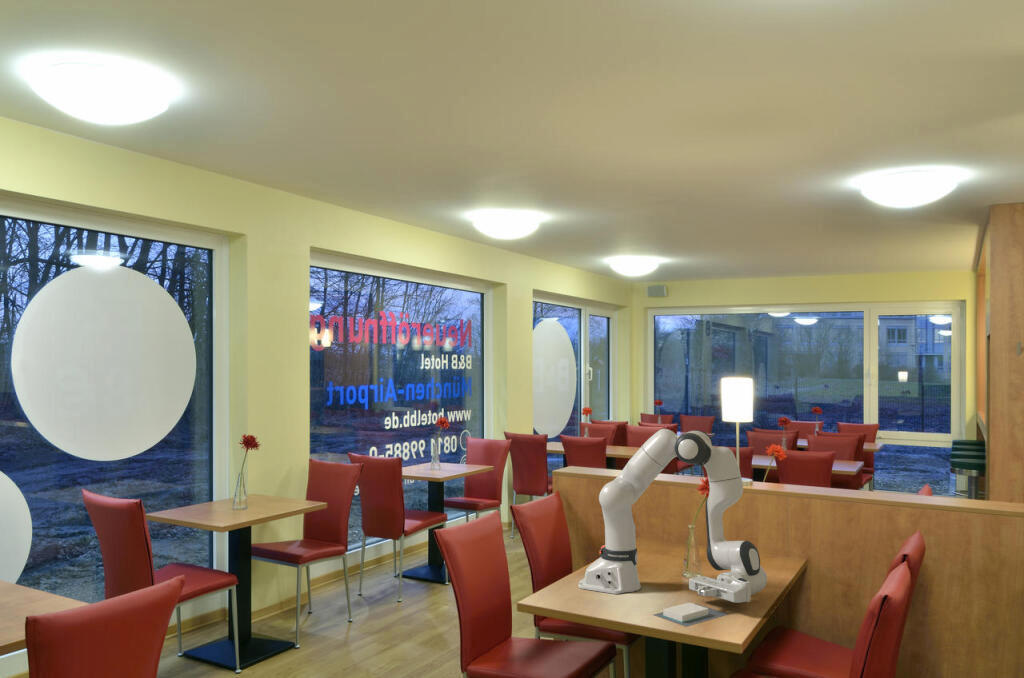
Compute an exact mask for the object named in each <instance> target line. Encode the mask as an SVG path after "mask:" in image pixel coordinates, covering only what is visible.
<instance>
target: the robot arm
mask: <svg viewBox="0 0 1024 678" xmlns="http://www.w3.org/2000/svg"><path fill="white" fill-rule="evenodd" d="M676 457H677V458H678V459H679V460H680V461H681V462H682V463H685V464H688V465H694V466H703V467H704V468H705V471H706V474H707V479H708V486H709V493H708V496H707V497H706V500H705V505H704V506H705V508H704V509H705V523H706V524H705V525H706V534H707V535H706V538H707V541H706V542H707V546H706V558H707V561H708V563H709V565H710V566H711V567H712V568H713V569H714V570H716V571H725V572H721V573H720V574H718V575H717V577H716V578H714V577H713V578H712V577H709V576H705V575H704V576H696V577H695V576H694V577H690V578H689V579H688V588H689V590H690V591H694V592H697V595H698V596H702V597H704V598H705V597H713V598H716V599H717V598H718V599H721V600H724V601H728V602H730V603H735V604H740V603H748V602H751V599H752V595H754V594H758V593H759V592H761V591H762V590H764V589H765V587H766V585H767V583H768V575H767V572H766V571H765V569H764V568H763V567H762V565H761V557H760V553H759V551H758V548H757V547H756V546H755V544H753V543H752V541H750V540H726V538H725V535H724V521H723V518H724V517H723V516H724V513H725V511H726V510H727V509H728V508H730V507H731V506H733V505H735V504H736V503H738V501H739V500H740V499H741V498H742V497H743V494H744V485H743V479H742V474H741V470H740V466H739V463H738V460H737V458H736V456H735V453H734V452H733V451H732V449H731V448H729V447H726V446H714V444H713V441H712V438H711V436H710V435H709V434H708V433H707V432H705V431H702V430H689V431H687V432H685V433H683V434H680V435H678V434H676V433H675V432H674V431H673V430H671V429H668V428H662V429H659V430H658V431H656V432H655V433H654V434H653V435H651V436H650V437H648V439H647V440H646V441H645V442H644V443H643V444H642V445H641V446H640V447H639V449H637V451H636V452H635V453H634V454H633V455H632V456H631V458H630V459H629V460H628V462H627V463H626V464H625V466H624V467H623V469H621V471H620V473H619V474H618V475H617V476H616V478H614V479H613V480H611V481H609V482H608V483H606V484H604V486H603V487H602V488H601V490H600V492H599V495H598V501H599V504H600V506H601V511H602V517H603V522H604V523H603V524H604V540H605V542H604V543H605V544H604V545H602V546H601V547H600V549H599V558H597V559H595V560H594V561H593V562H591V564H590V565H588V567H587V568H586V570H585V573H584V577H583V578H582V579H580V580H579V581H578V584H577V585H578V588H579V589H582V590H587V591H588V590H589V591H595V592H601V593H607V594H613V595H619V594H624V593H632V592H636V591H639V590H641V588H642V586H641V582H640V579H639V574H638V573H639V572H638V567H637V566H638V565H637V564H638V549H637V543H636V542H637V541H636V537H637V535H636V534H637V533H636V524H635V522H634V518H633V511H632V508H633V507H632V506H633V505H635V503H636V502H637V500H639V499H640V497H641V496H642V495H643V494H644V492H646V490H647V489H648V488H649V486H650V485H651V484H652V483H653V481H654V480H655V479H656V478H657V477H658V476H659V474H661V472H663V470H664V469H665V468H666V467H667V466H668V464H669V463H670V462H671V461H672V460H674V458H676ZM729 570H730V571H729Z"/></svg>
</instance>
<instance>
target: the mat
mask: <svg viewBox="0 0 1024 678" xmlns="http://www.w3.org/2000/svg"><path fill="white" fill-rule="evenodd" d="M695 604H696V605H699V606H702V607H705V608H708V611H709V616H705V617H702V618H698V619H695V620H691V621H687V622H684V623H681V622H678V621H675V620H673V619H670V618H667V617H664V616H663V611H662V612H657V613H654V614H653V616H654V617H657V618H660V619H663V620H666V621H667V622H672V623H673V624H677V625H680V626H682V627H687V628H688V627H690V626H693V625H694V626H695V625H698V624H701V623H704V622H708V621H710V620H714V619H715V620H716V619H718V618H721V617H725V616H728V615H730V614H729V613H726V612H723V611H719V610H717V609H714V608H710V607H707V606H705V605H702V604H698V603H695Z"/></svg>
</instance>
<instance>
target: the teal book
mask: <svg viewBox="0 0 1024 678" xmlns="http://www.w3.org/2000/svg"><path fill="white" fill-rule="evenodd" d="M696 604H697V603H693V602H685V603H682V604H678V605H674V606H670V607H667V608H663V609H662V612H663V616H664V617H667V618H670V619H673V620H675V621H678V622H681V623H684V622H687V621H691V620H695V619H698V618H702V617H705V616H709V611H708V608H709V607H708V608H705V607H706V606H705V607H702V606H703V605H702V606H699V605H700V604H699V605H696Z"/></svg>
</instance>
